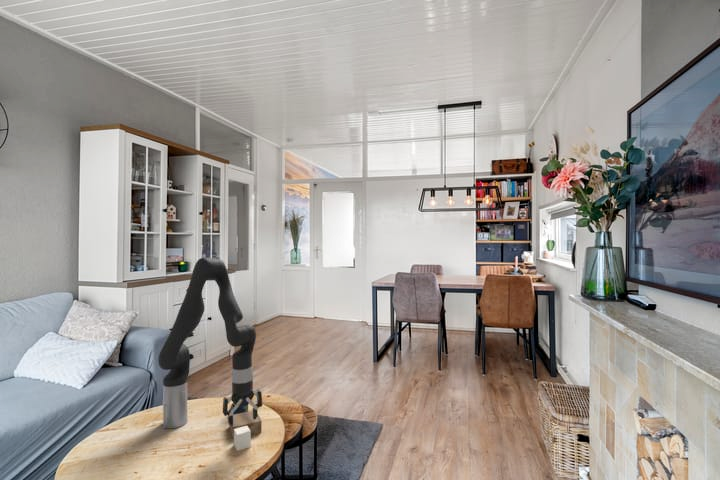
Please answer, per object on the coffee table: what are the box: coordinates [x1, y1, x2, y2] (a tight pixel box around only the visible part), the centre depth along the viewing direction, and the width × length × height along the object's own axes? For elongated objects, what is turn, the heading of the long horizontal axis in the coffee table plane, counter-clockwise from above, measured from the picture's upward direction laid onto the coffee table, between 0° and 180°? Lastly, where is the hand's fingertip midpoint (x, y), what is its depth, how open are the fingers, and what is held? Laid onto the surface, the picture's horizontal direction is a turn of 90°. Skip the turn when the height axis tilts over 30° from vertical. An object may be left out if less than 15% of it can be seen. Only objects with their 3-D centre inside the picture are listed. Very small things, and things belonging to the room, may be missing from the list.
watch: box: [232, 405, 249, 415], centre depth 168 cm, size 6×8×11 cm
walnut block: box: [228, 410, 262, 440], centre depth 154 cm, size 11×11×5 cm
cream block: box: [233, 426, 252, 452], centre depth 141 cm, size 5×5×6 cm
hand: (243, 421), depth 141 cm, fingers open, 8 cm apart
